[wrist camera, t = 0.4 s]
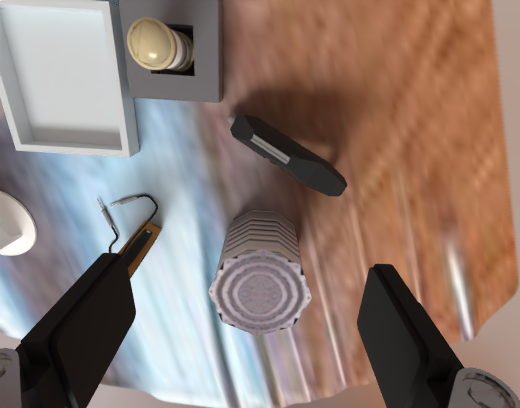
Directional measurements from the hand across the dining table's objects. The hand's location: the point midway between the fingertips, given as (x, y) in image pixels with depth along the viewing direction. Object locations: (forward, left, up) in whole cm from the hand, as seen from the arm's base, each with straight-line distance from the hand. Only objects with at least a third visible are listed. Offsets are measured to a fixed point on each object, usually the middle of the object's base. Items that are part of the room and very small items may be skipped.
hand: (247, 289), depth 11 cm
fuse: (-10, -10, -28) cm, 32 cm away
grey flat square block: (-10, -10, -28) cm, 32 cm away
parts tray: (-6, -23, -28) cm, 37 cm away
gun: (0, +3, -29) cm, 29 cm away
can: (+15, +1, -29) cm, 33 cm away
